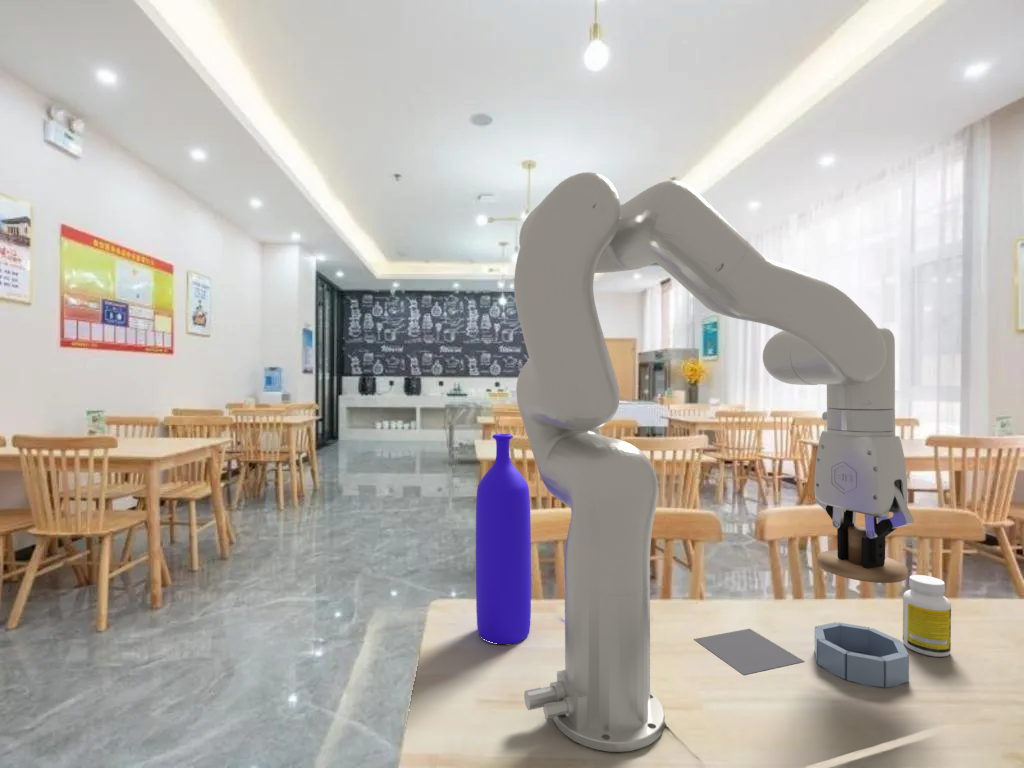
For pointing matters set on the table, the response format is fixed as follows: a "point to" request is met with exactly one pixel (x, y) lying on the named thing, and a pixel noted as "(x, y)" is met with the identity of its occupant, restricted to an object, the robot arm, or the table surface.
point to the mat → (748, 651)
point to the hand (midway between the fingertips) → (860, 561)
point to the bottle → (503, 551)
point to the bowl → (861, 654)
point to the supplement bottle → (927, 617)
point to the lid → (860, 562)
